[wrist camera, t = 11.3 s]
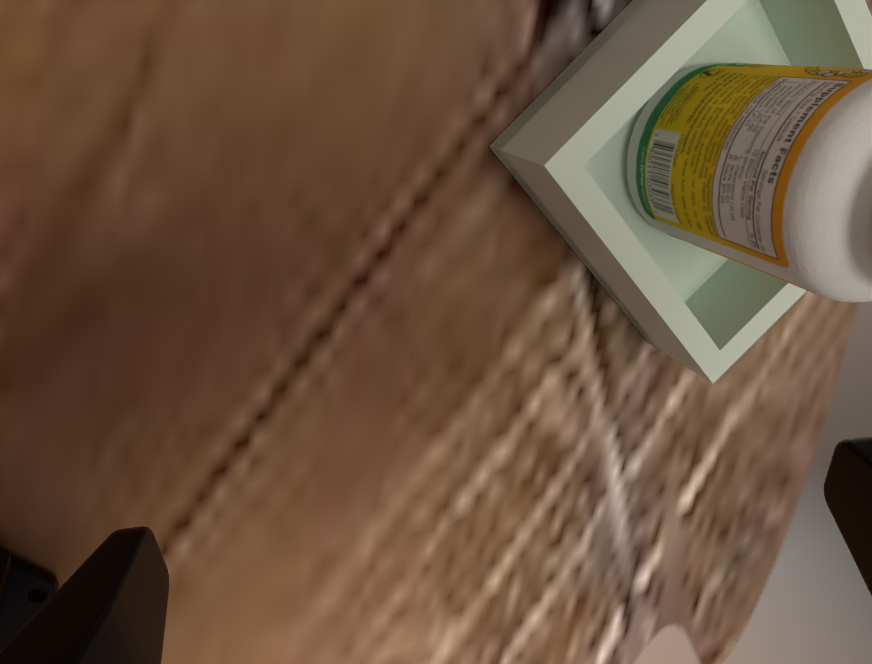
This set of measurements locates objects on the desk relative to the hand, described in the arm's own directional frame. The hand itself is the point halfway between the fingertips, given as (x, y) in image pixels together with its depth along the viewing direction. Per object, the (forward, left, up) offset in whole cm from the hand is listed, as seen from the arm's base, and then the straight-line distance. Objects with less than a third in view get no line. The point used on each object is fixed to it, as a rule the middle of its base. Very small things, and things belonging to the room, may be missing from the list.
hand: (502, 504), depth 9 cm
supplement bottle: (+10, -6, -12) cm, 17 cm away
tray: (+10, -6, -13) cm, 18 cm away
